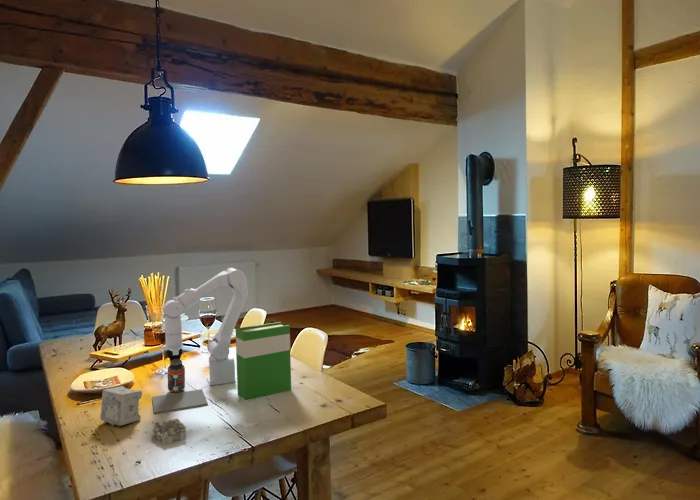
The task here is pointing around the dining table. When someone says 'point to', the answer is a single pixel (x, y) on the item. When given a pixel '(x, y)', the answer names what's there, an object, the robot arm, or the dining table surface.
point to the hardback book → (263, 360)
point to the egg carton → (169, 431)
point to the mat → (178, 401)
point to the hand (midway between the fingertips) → (175, 369)
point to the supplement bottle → (176, 376)
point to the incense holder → (120, 405)
